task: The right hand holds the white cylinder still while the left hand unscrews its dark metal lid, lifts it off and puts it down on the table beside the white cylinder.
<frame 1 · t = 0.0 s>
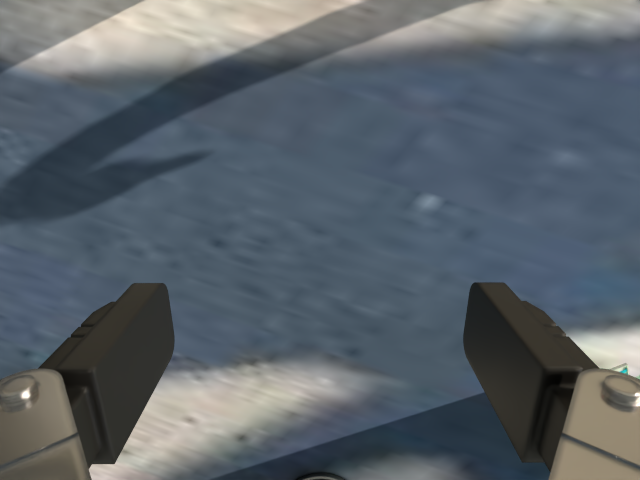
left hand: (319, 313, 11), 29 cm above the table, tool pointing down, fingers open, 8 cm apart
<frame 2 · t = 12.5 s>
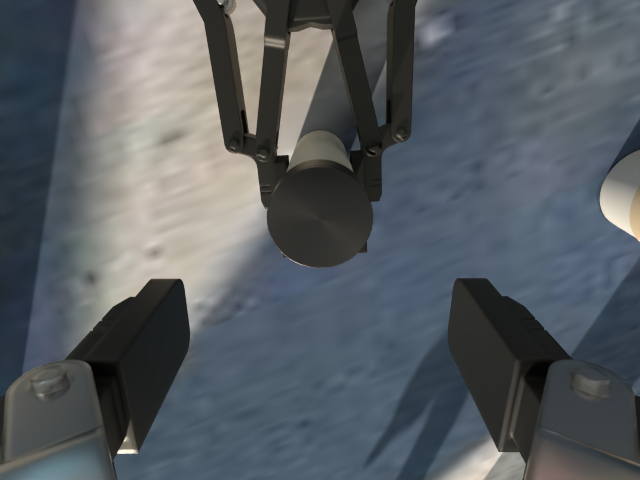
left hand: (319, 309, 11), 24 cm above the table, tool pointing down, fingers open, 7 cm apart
right hand: (324, 246, 30), fingers closed on white cylinder, 4 cm apart
white cylinder: (319, 157, 34), on the table, touching right hand
lid: (319, 217, 19), point 16 cm above the table, screwed on, not yet turned
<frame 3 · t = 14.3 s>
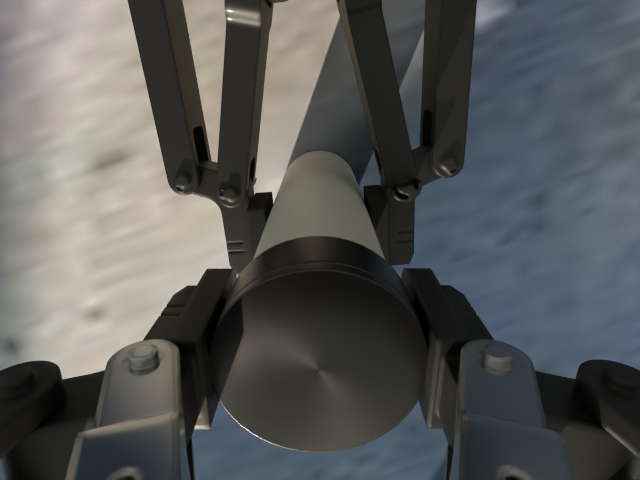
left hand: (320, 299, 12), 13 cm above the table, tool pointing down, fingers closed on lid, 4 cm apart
right hand: (326, 325, 20), fingers closed on white cylinder, 4 cm apart
white cylinder: (319, 187, 24), on the table, touching right hand
lid: (318, 359, 9), point 16 cm above the table, screwed on, not yet turned, touching left hand
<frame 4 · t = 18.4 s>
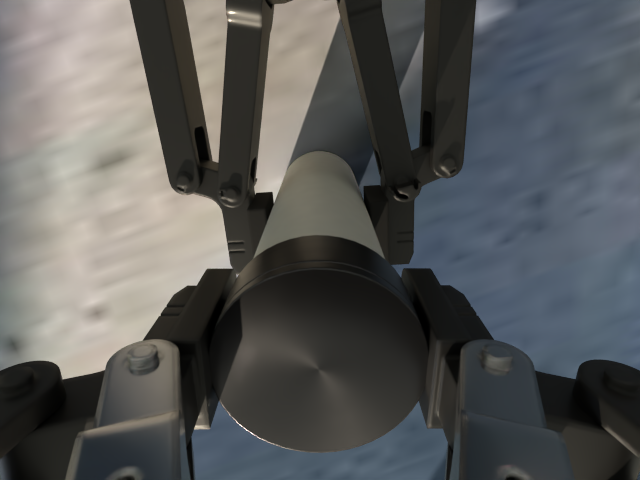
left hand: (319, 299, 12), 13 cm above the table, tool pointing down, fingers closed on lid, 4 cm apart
right hand: (326, 325, 20), fingers closed on white cylinder, 4 cm apart
white cylinder: (319, 187, 24), on the table, touching right hand
lid: (318, 359, 9), point 16 cm above the table, turned 88° so far, risen 0.1 cm, still on its thread, touching left hand
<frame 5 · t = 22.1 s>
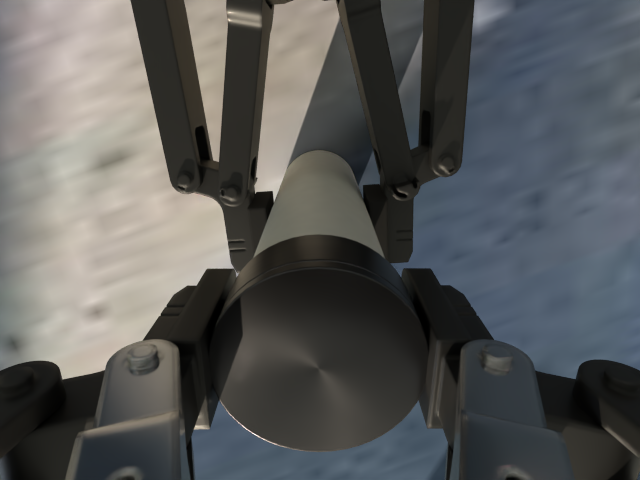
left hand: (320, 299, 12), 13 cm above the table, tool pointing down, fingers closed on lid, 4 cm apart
right hand: (326, 323, 21), fingers closed on white cylinder, 4 cm apart
white cylinder: (319, 186, 24), on the table, touching right hand
lid: (318, 358, 9), point 16 cm above the table, turned 176° so far, risen 0.2 cm, still on its thread, touching left hand
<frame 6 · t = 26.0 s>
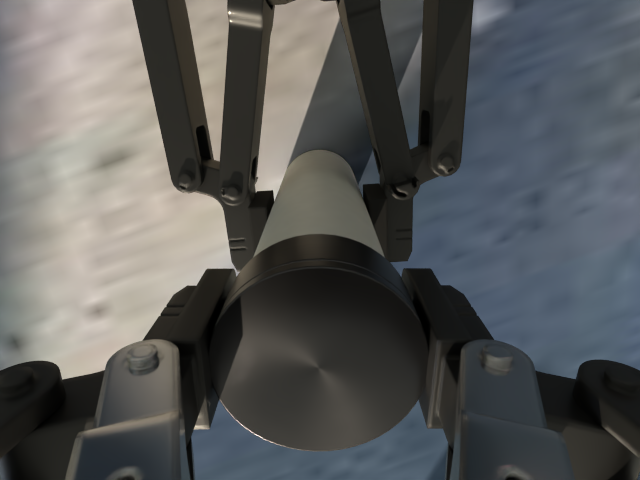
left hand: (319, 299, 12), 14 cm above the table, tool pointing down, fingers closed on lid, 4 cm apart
right hand: (326, 321, 21), fingers closed on white cylinder, 4 cm apart
white cylinder: (319, 186, 25), on the table, touching right hand
lid: (318, 357, 9), point 16 cm above the table, turned 264° so far, risen 0.4 cm, still on its thread, touching left hand
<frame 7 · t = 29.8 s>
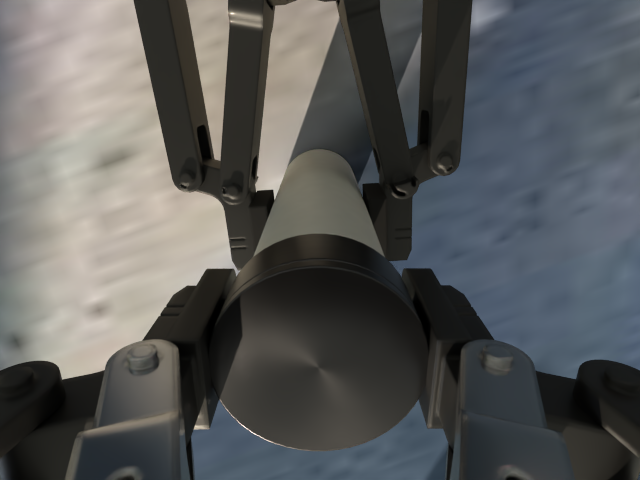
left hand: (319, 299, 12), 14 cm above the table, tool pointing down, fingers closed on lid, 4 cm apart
right hand: (326, 320, 21), fingers closed on white cylinder, 4 cm apart
white cylinder: (319, 185, 25), on the table, touching right hand
lid: (318, 357, 9), point 16 cm above the table, turned 352° so far, risen 0.5 cm, still on its thread, touching left hand
when the left hand's fingers open (0 cm above the table, at t = 40.5 s): lid drops 2 cm, point 2 cm above the table.
when the right hand's fingers open (6 cm above the table, at t = 41.4 s): white cylinder stays where it is, on the table.
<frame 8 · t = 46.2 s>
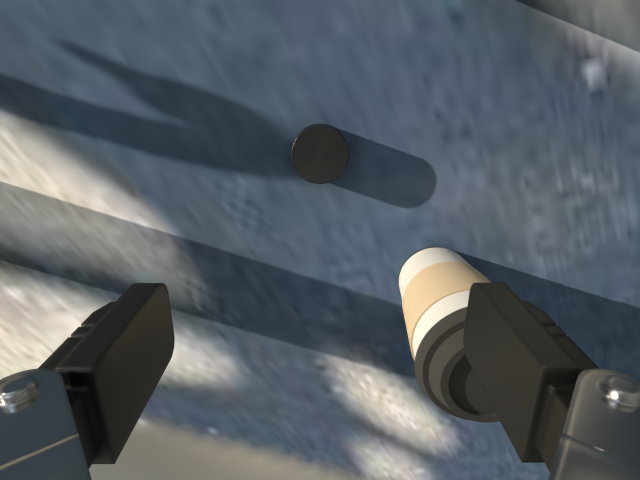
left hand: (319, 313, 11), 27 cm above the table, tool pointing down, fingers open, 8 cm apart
lid: (319, 155, 35), point 2 cm above the table, off its thread
coffee cup: (433, 279, 41), on the table
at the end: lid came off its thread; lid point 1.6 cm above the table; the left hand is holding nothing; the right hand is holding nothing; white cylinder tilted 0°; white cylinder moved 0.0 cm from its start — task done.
